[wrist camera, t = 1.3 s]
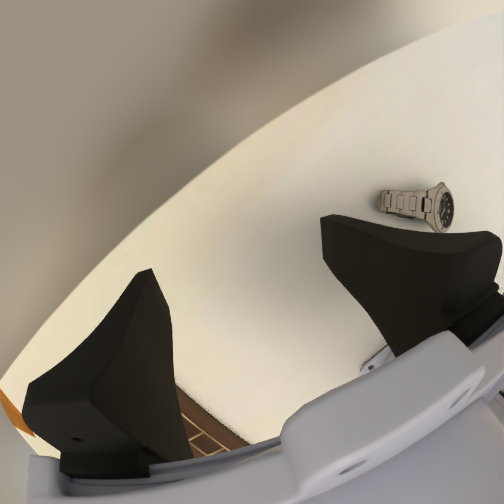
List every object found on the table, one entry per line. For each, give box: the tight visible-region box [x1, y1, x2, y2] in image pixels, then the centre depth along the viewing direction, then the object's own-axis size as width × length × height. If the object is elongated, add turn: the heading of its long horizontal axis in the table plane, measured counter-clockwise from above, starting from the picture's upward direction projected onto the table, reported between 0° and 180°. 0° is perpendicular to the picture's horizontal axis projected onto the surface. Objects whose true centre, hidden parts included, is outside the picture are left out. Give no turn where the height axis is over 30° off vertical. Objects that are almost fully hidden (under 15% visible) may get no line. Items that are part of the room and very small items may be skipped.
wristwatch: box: [378, 182, 454, 233], centre depth 17 cm, size 4×6×5 cm, turn 85°
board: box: [176, 386, 249, 458], centre depth 26 cm, size 15×15×1 cm
